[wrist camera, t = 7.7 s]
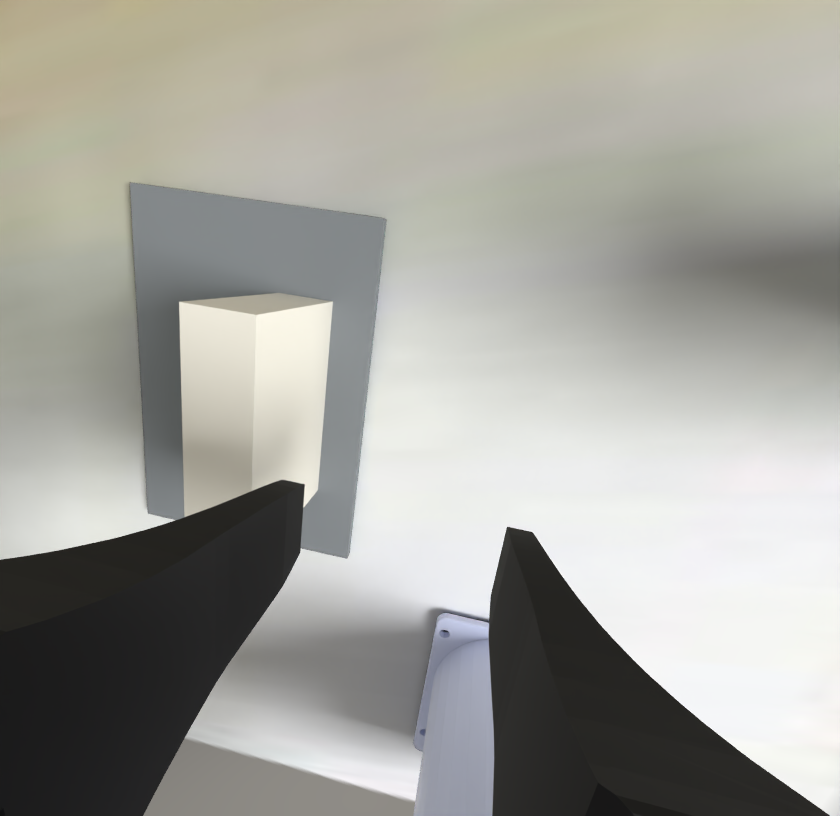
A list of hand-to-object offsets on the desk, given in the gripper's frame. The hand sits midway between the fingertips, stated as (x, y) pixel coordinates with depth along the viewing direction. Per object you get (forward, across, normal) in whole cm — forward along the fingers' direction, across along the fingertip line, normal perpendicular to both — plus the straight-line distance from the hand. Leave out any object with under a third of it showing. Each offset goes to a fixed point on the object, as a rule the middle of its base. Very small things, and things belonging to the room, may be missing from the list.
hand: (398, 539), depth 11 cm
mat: (+9, +9, 0) cm, 13 cm away
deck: (+9, +6, 0) cm, 11 cm away
